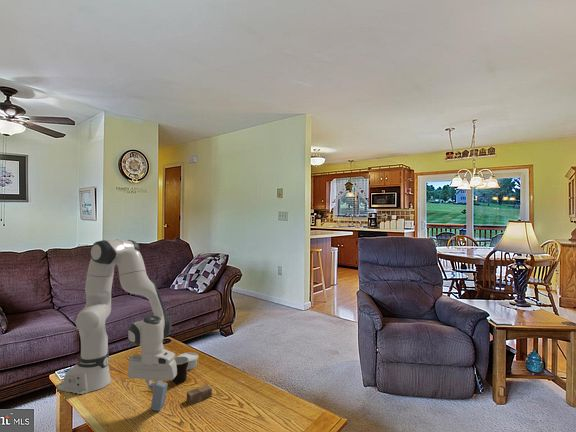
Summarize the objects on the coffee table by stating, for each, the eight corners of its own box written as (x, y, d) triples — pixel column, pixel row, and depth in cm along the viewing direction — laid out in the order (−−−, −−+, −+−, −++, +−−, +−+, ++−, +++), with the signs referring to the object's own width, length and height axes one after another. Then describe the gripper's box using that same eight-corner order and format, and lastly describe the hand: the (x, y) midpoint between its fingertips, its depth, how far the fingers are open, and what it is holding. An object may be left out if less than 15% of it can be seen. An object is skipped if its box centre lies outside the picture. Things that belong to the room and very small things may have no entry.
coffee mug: (182, 386, 154) (182, 365, 154) (166, 384, 156) (166, 363, 156) (194, 374, 165) (194, 354, 165) (179, 372, 167) (179, 353, 167)
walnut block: (190, 395, 140) (211, 388, 146) (186, 391, 143) (208, 384, 149) (190, 405, 140) (211, 396, 146) (186, 400, 143) (207, 392, 149)
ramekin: (201, 362, 178) (201, 353, 178) (192, 372, 167) (192, 362, 167) (182, 360, 180) (182, 351, 180) (172, 370, 169) (172, 360, 169)
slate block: (150, 409, 135) (154, 386, 134) (155, 403, 139) (158, 381, 138) (159, 411, 134) (163, 388, 134) (164, 405, 138) (167, 383, 138)
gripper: (124, 358, 134) (124, 391, 134) (172, 360, 132) (172, 393, 133) (133, 351, 141) (133, 383, 141) (178, 353, 139) (178, 385, 139)
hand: (152, 388), depth 137 cm, fingers closed
